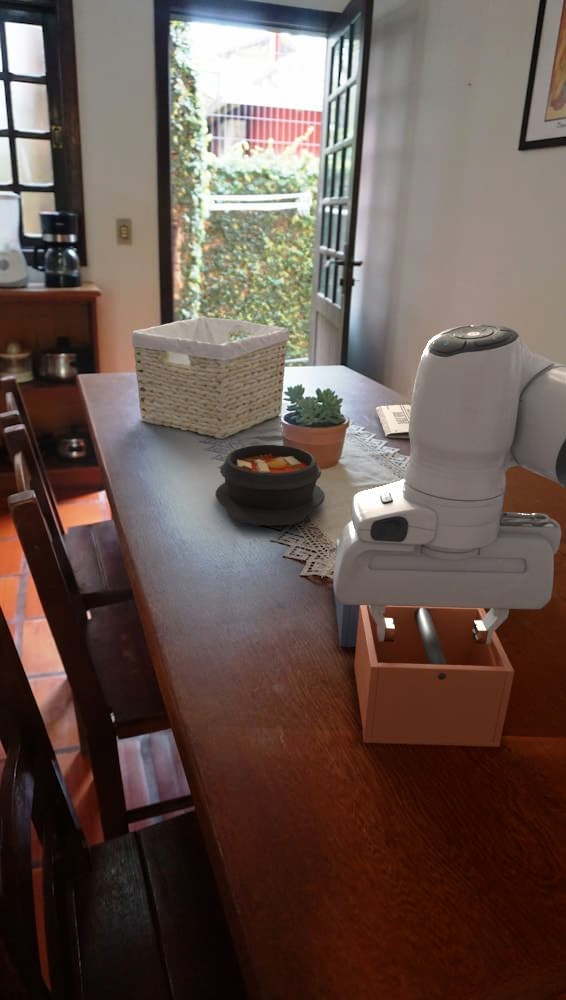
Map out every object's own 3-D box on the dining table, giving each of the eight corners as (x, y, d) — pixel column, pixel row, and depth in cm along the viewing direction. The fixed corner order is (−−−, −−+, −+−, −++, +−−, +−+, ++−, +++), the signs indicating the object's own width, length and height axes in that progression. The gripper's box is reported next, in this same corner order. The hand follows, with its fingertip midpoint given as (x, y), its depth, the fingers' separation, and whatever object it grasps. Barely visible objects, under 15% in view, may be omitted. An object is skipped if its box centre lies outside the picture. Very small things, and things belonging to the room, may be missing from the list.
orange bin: (471, 675, 75) (482, 605, 72) (499, 749, 65) (515, 672, 62) (353, 671, 75) (359, 601, 72) (363, 745, 65) (371, 667, 62)
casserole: (325, 539, 105) (328, 488, 102) (205, 533, 106) (204, 483, 102) (323, 479, 128) (325, 437, 125) (224, 475, 129) (224, 433, 125)
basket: (224, 445, 145) (224, 341, 136) (130, 422, 158) (124, 326, 149) (290, 416, 166) (293, 325, 158) (202, 398, 179) (201, 313, 170)
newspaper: (441, 440, 153) (441, 429, 152) (386, 443, 153) (386, 433, 152) (424, 411, 174) (424, 402, 172) (375, 414, 174) (375, 405, 173)
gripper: (552, 500, 64) (528, 624, 70) (336, 494, 64) (328, 619, 70) (578, 529, 59) (549, 662, 64) (340, 523, 59) (332, 656, 64)
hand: (432, 639), depth 67 cm, fingers open, 8 cm apart
